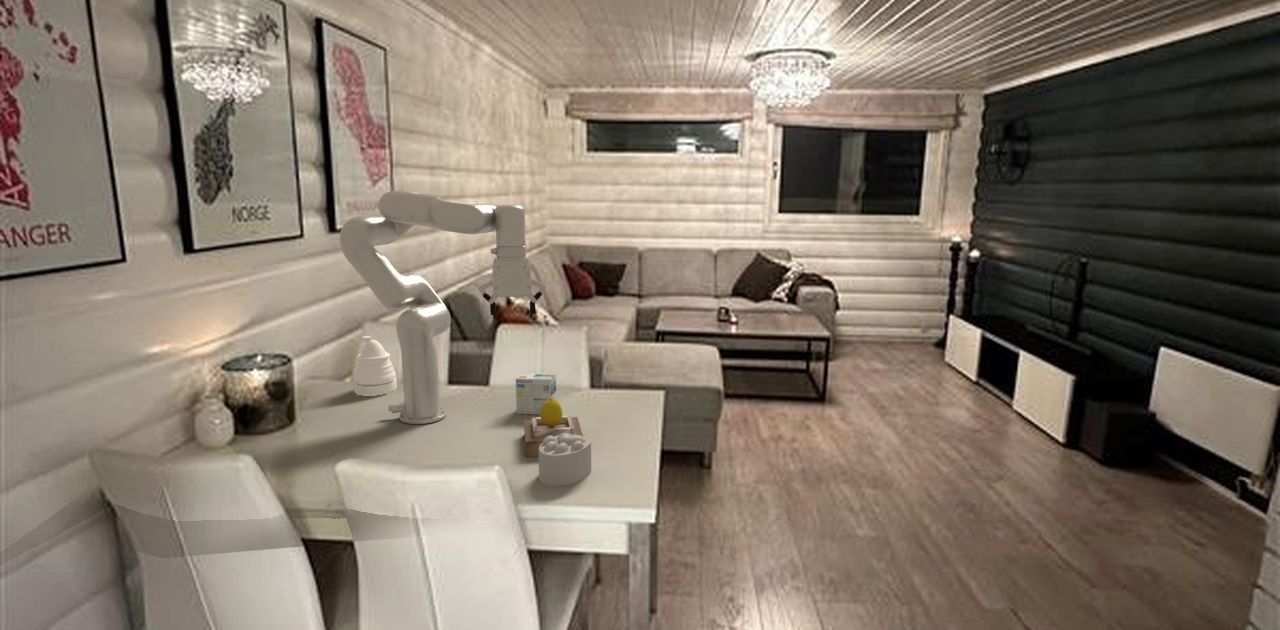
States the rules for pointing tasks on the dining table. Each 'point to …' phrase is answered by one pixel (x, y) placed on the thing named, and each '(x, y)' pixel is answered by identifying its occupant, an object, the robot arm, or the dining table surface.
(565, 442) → the lumpy-topped squat cylinder
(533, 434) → the walnut plinth
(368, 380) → the honey pot
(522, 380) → the light bulb box
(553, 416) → the lemon
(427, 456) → the dining table surface
